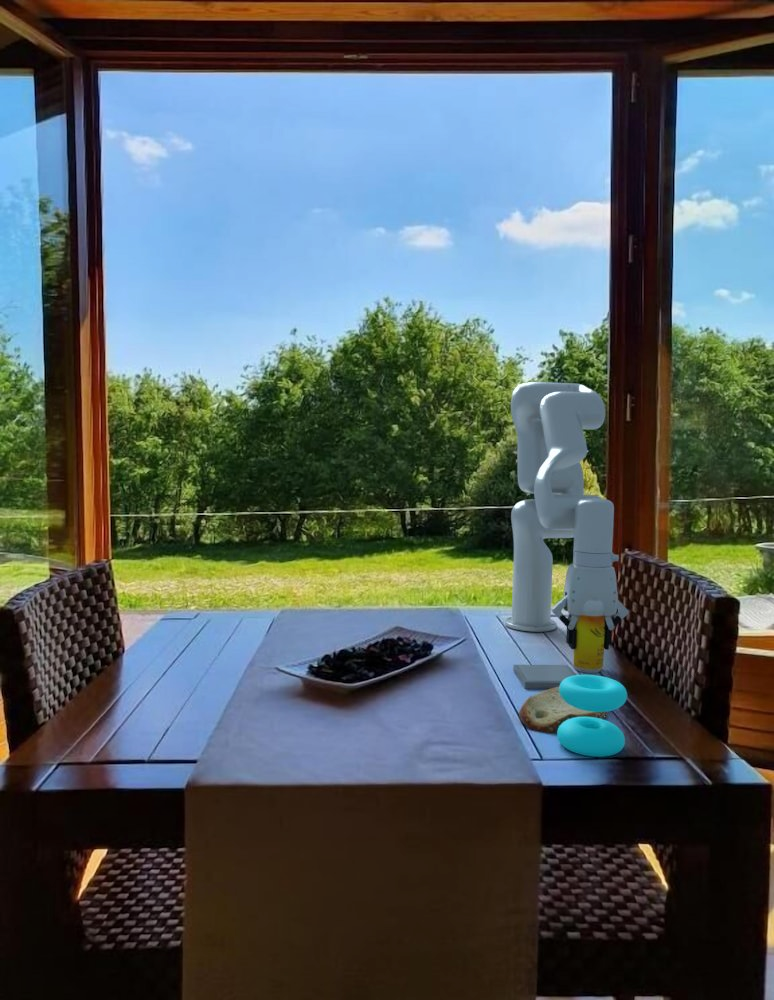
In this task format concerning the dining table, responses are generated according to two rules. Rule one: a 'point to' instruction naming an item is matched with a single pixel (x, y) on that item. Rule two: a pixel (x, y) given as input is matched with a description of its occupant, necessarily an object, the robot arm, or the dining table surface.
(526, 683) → the slate coaster
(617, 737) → the donuts
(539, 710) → the bread slice
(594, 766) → the dining table surface
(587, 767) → the dining table surface
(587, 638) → the beer can
